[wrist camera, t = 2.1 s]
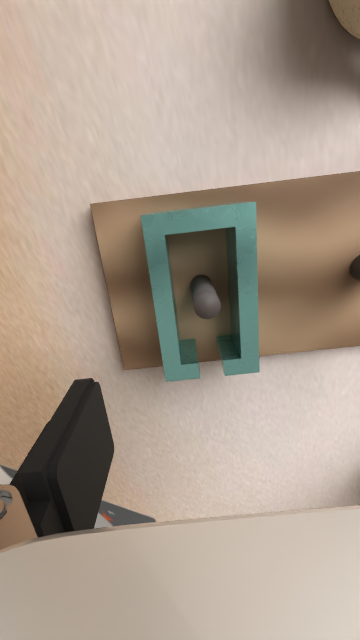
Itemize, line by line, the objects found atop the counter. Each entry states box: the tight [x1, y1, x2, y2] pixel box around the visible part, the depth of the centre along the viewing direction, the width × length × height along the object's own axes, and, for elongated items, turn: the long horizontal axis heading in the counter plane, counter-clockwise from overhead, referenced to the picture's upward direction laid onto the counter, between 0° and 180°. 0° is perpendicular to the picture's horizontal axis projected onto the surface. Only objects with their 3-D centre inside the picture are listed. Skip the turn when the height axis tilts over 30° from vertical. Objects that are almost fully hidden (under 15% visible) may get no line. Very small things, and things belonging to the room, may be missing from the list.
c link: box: [141, 202, 259, 382], centre depth 21 cm, size 11×6×4 cm, turn 6°
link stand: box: [90, 171, 360, 370], centre depth 16 cm, size 13×22×16 cm, turn 96°
